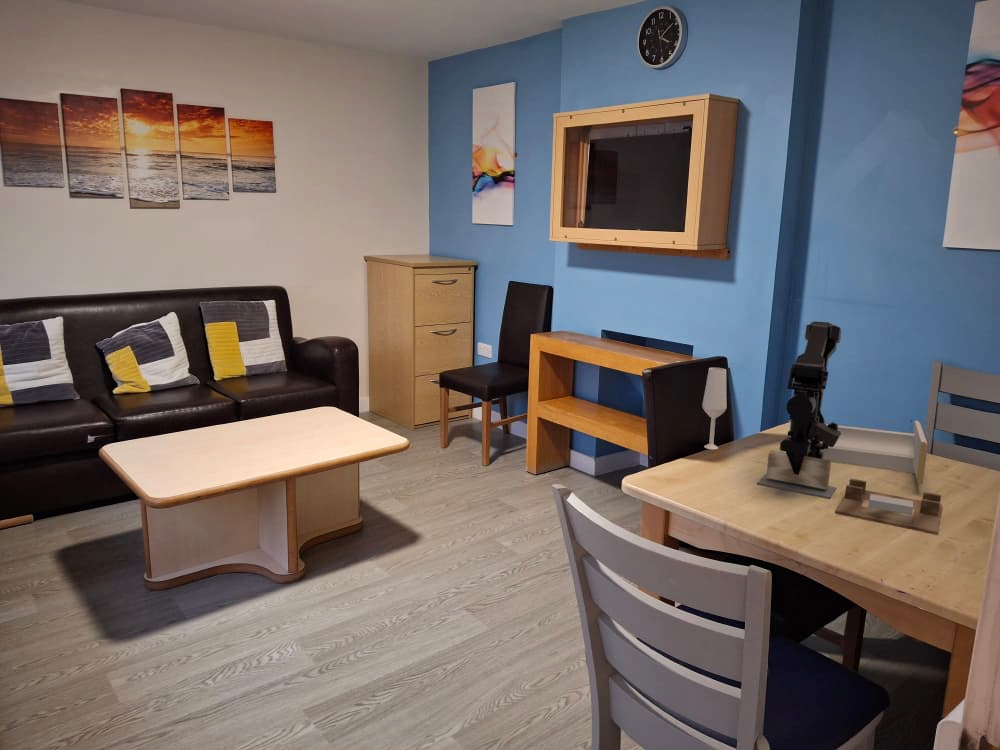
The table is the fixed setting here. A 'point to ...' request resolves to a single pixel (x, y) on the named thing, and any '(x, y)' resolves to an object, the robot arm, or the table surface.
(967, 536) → the table surface
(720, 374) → the champagne flute
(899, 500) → the offcut upper
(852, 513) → the offcut rack
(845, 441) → the crown molding
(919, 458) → the baseboard
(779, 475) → the plywood sheet
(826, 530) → the table surface
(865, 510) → the offcut lower
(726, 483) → the table surface
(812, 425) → the robot arm
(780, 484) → the slate mat
